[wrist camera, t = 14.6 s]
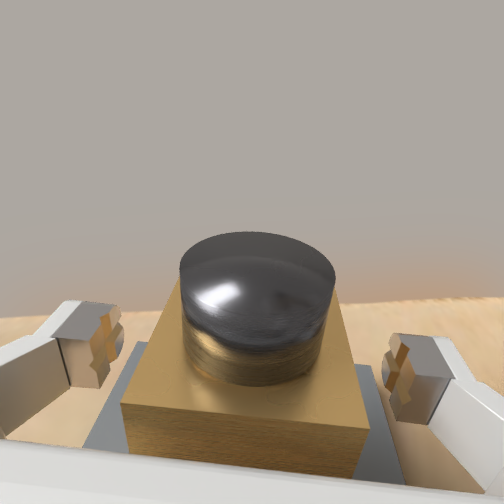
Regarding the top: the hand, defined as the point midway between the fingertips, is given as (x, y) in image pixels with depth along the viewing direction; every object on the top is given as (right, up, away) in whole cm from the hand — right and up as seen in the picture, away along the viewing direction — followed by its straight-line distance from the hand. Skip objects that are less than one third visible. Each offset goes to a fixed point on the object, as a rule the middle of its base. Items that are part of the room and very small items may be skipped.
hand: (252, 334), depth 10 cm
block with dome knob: (-1, -7, +3) cm, 8 cm away
